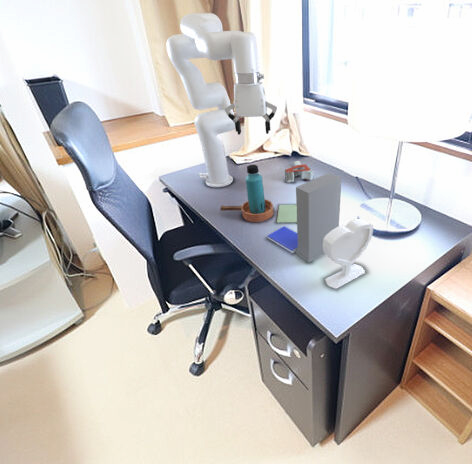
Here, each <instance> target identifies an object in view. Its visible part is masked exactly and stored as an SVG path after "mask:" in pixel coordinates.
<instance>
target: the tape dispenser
mask: <svg viewBox="0 0 472 464" xmlns="http://www.w3.org/2000/svg"><path fill="white" fill-rule="evenodd" d="M292 164H293V166H291V167H288V168H286V169H285V170H284V177H285V180H286V183H294V182H295V177H299V176H300V179H301V180H305V181H311V180H314V172H315V171H314V170H312V169H311V167H309V166H308V165H307V164H304V163H303V164H302V161H300V160H295V161H294V162H293V163H292Z"/></svg>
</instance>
